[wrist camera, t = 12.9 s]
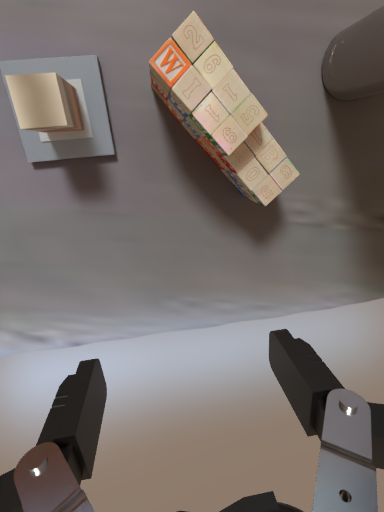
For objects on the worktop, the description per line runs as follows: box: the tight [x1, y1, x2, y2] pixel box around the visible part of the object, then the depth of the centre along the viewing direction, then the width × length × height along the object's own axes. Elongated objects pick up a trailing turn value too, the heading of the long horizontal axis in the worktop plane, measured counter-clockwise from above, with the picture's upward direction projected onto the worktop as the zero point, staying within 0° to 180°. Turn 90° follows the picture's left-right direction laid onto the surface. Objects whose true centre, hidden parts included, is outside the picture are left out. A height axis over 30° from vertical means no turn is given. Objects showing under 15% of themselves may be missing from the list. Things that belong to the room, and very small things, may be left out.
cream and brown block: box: [5, 72, 84, 133], centre depth 33 cm, size 5×5×8 cm
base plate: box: [0, 55, 115, 163], centre depth 37 cm, size 12×12×1 cm
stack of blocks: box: [149, 11, 300, 206], centre depth 35 cm, size 21×6×12 cm, turn 43°
